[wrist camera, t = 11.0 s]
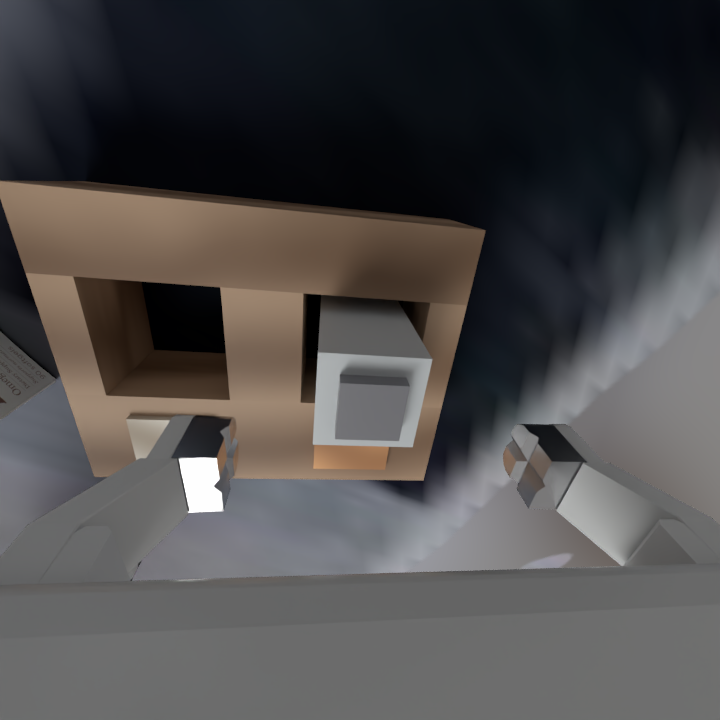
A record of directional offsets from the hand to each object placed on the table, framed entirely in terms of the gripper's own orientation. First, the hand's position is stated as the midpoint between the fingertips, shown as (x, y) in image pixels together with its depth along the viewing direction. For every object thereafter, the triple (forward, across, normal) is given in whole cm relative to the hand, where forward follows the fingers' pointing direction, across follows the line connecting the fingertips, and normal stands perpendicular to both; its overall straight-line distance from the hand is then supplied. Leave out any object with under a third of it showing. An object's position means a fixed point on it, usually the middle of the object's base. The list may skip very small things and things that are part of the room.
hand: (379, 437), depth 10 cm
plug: (+12, 0, +1) cm, 12 cm away
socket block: (+12, +4, +2) cm, 13 cm away
